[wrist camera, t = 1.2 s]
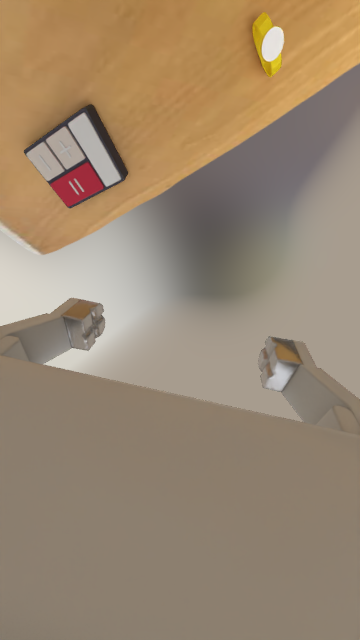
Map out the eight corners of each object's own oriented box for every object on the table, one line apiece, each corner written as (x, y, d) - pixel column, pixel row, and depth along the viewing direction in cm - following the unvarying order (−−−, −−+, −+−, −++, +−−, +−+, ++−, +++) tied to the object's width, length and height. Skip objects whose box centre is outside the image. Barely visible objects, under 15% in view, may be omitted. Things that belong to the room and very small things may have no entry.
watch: (278, 63, 32) (291, 63, 28) (261, 81, 33) (271, 83, 29) (263, 9, 28) (275, 0, 24) (244, 31, 29) (253, 27, 26)
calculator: (20, 152, 37) (83, 106, 32) (31, 146, 40) (92, 102, 35) (67, 211, 45) (124, 181, 40) (74, 202, 48) (129, 173, 43)
